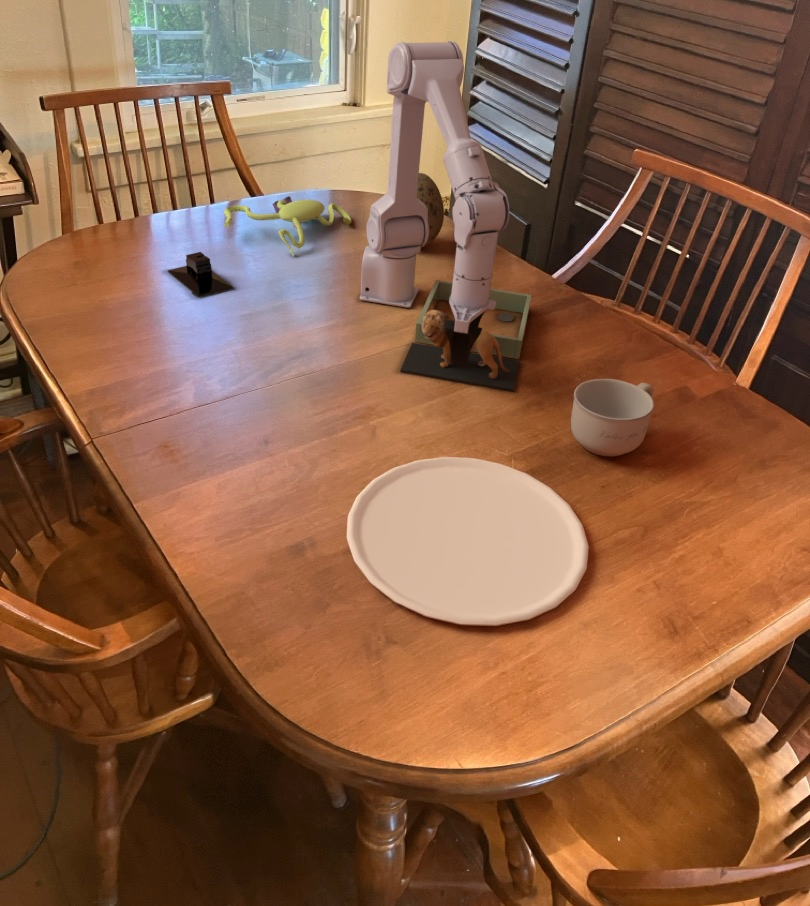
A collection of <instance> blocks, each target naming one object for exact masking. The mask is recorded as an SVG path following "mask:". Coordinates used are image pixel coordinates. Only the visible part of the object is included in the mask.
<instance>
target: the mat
mask: <svg viewBox="0 0 810 906" xmlns="http://www.w3.org/2000/svg"><path fill="white" fill-rule="evenodd" d="M442 354H444V353H443V348H442V347H437V346H435V345H430V344H424V343H418V342H412V343H411V345H410V347H409V349H408V351H407V354H406V356H405V358H404V360H403V362H402V365H401V367H400V369H399V370H400V371H399V372H400V373H404V374H408V375H409V374H410V375H415V376H421V377H426V378H433V379H436V380H437V379H438V380H443V381H449V382H455V383H462V384H466V385H472V386H477V387H484V388H490V389H496V390H500V391H501V390H502V391H507V392H512V393H513V392H515V386H516V381H517V377H518V373H519V367H520V361H521V360H519V359H513V358H507V357H501V358H502V364H503V366H504V367H506V368H508V369H509V370H510V372H505V371H503V370H502V369H501V367H500V365H499V361H498V356H495V355H492V356H493V359H494V361H495V363H496V364H497V365H498V375H497V377H496V378H495V379H491V378H490V377H489V373H491V372H493V370H492V369H491V368H490V367H489V366H488V365H487V364H486V365H485V366H479V365H478V362H479V361H483V359H482V358H481V356H480V354H479V353H478V352H470V355H469V358H468V361H467V363H466V365H465V366H460V365H455V364H452V360H451V356H450V364H449V366H448V367H445V368H443V367H441V365H440V363H441V362H444V361H445V359H442V358H441V355H442Z"/></svg>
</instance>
